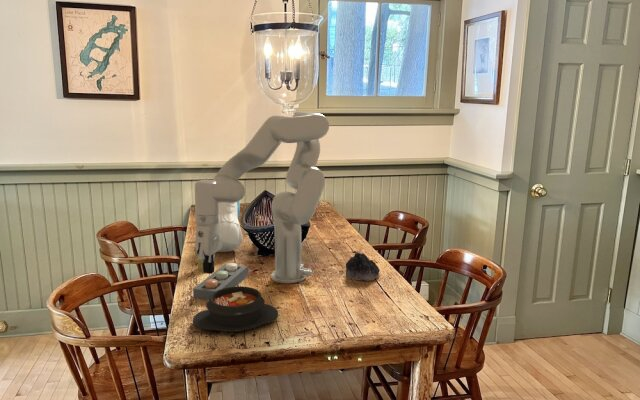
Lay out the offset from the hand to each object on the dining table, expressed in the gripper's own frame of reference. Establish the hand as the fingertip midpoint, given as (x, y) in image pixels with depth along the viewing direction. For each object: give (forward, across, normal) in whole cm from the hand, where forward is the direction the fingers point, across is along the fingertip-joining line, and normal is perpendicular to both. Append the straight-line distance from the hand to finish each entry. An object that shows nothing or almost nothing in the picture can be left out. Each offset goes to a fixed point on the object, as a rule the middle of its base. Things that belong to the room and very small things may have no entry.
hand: (208, 272), depth 166 cm
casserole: (+9, -15, -16) cm, 24 cm away
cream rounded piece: (+6, +17, -1) cm, 18 cm away
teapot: (+7, +93, +36) cm, 100 cm away
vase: (+8, +23, +13) cm, 27 cm away
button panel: (+8, +9, -1) cm, 12 cm away
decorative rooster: (+8, +46, +17) cm, 50 cm away
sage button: (+6, +9, -1) cm, 10 cm away
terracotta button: (+6, +1, -1) cm, 6 cm away
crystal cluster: (+7, +32, -45) cm, 56 cm away
